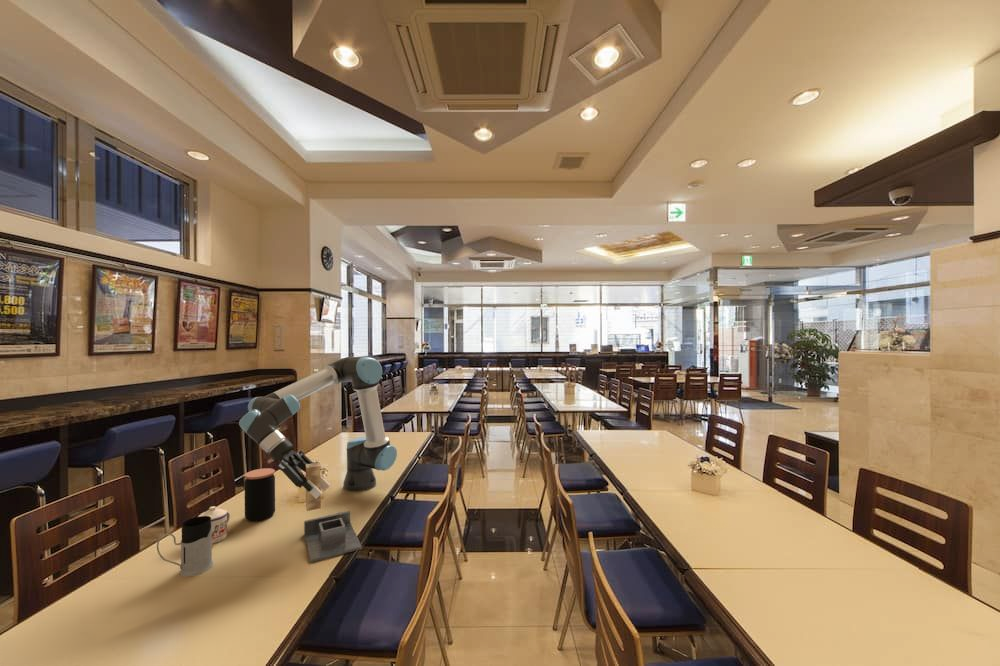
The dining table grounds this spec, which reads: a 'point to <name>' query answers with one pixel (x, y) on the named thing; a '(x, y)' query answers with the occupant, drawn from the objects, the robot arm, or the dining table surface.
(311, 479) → the wooden block
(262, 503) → the coffee jar
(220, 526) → the teacup with lid
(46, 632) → the dining table surface
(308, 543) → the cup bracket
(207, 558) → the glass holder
